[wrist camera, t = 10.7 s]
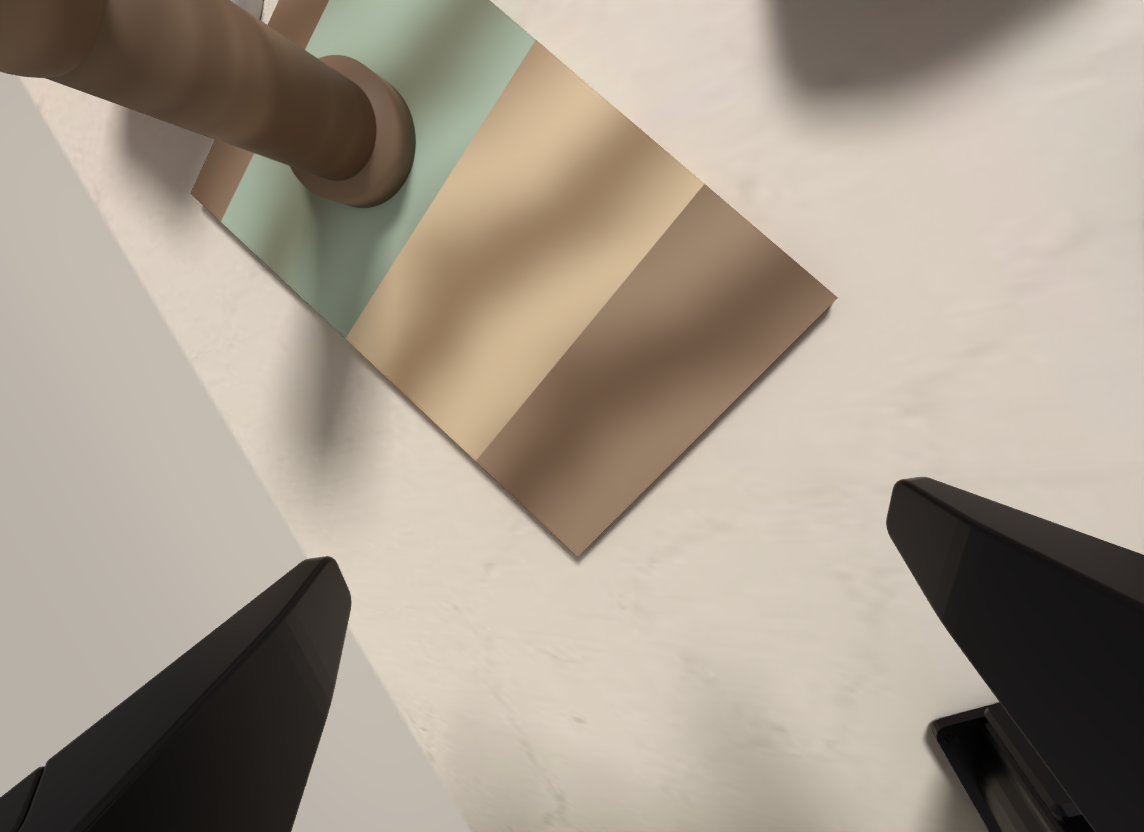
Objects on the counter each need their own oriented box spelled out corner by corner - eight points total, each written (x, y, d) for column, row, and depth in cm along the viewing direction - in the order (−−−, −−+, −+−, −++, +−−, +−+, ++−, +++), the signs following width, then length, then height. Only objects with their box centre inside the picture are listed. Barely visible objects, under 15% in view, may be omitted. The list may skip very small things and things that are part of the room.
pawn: (438, 157, 20) (-32, -119, 7) (350, 232, 21) (-160, 113, 9) (371, 44, 20) (-230, -442, 7) (288, 128, 21) (-322, -145, 9)
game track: (833, 298, 18) (837, 297, 17) (581, 550, 22) (577, 556, 21) (349, -116, 19) (338, -130, 19) (202, 196, 24) (190, 193, 23)
